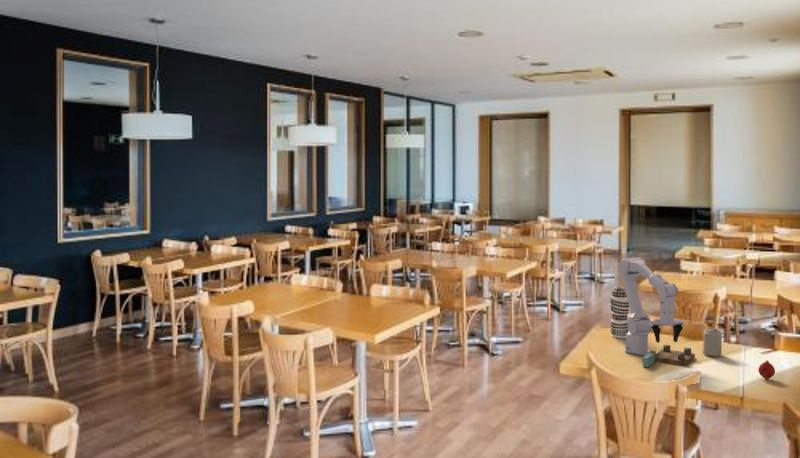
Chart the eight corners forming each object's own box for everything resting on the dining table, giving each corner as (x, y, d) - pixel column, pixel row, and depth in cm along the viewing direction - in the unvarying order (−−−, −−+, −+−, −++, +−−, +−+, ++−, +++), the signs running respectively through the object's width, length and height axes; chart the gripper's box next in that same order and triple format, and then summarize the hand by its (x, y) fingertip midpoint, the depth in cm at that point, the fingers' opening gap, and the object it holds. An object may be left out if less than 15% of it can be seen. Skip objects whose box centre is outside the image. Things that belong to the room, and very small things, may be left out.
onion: (755, 377, 270) (755, 358, 269) (768, 376, 271) (769, 357, 270) (764, 382, 264) (764, 362, 264) (777, 381, 265) (778, 362, 264)
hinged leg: (650, 360, 296) (651, 350, 295) (656, 361, 294) (656, 351, 294) (642, 366, 287) (642, 356, 287) (647, 367, 286) (648, 357, 285)
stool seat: (652, 360, 296) (652, 350, 295) (662, 353, 306) (663, 343, 306) (685, 366, 287) (685, 355, 286) (694, 358, 298) (695, 348, 297)
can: (723, 357, 297) (723, 331, 296) (705, 357, 299) (705, 331, 297) (718, 352, 304) (719, 327, 303) (701, 352, 306) (701, 326, 305)
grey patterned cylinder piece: (613, 332, 344) (613, 284, 341) (631, 334, 338) (632, 286, 336) (607, 336, 336) (607, 288, 334) (626, 339, 331) (626, 289, 328)
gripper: (653, 313, 285) (653, 344, 286) (687, 313, 285) (686, 343, 286) (647, 310, 292) (647, 340, 293) (680, 309, 292) (680, 339, 293)
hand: (666, 341), depth 290 cm, fingers open, 7 cm apart
